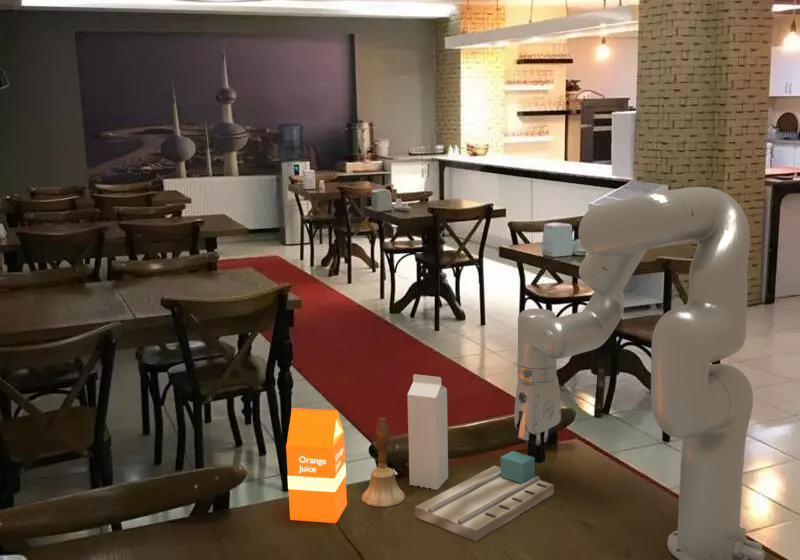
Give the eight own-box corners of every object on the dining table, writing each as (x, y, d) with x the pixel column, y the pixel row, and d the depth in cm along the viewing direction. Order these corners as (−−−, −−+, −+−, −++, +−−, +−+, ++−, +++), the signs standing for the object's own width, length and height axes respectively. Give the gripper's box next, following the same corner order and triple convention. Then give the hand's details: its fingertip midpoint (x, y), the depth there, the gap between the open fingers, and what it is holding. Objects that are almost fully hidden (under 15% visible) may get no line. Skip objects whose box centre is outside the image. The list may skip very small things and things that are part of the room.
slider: (534, 476, 165) (534, 457, 164) (522, 483, 162) (522, 463, 162) (512, 469, 169) (512, 450, 168) (500, 476, 166) (500, 457, 165)
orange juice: (336, 523, 153) (331, 417, 149) (289, 520, 155) (283, 415, 151) (347, 504, 161) (343, 403, 157) (302, 501, 163) (297, 401, 159)
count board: (553, 494, 163) (553, 481, 162) (476, 541, 145) (475, 527, 145) (494, 474, 172) (494, 462, 172) (415, 516, 155) (414, 503, 154)
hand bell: (376, 485, 169) (374, 408, 166) (413, 493, 164) (411, 415, 161) (353, 501, 162) (350, 422, 159) (390, 511, 157) (388, 429, 154)
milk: (421, 474, 173) (418, 369, 169) (448, 478, 171) (447, 372, 167) (409, 485, 168) (406, 378, 164) (437, 490, 166) (435, 381, 162)
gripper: (530, 385, 158) (530, 478, 162) (574, 367, 169) (572, 454, 173) (498, 377, 164) (498, 467, 167) (542, 360, 174) (541, 445, 178)
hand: (536, 460), depth 170 cm, fingers closed
